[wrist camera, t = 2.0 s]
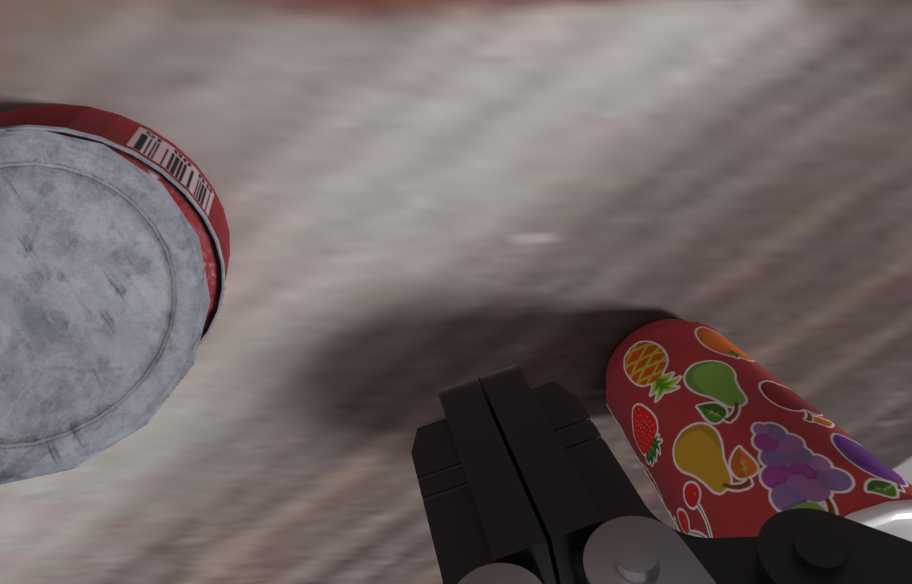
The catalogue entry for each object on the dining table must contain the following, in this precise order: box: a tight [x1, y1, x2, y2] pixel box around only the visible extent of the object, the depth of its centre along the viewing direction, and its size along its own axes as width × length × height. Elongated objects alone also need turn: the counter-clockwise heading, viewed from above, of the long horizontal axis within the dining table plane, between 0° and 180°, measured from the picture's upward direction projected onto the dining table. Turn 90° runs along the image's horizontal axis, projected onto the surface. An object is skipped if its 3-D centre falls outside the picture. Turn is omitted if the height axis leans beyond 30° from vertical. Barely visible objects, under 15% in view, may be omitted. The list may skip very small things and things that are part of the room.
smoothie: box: [605, 319, 912, 542], centre depth 25 cm, size 8×8×20 cm
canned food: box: [0, 104, 230, 484], centre depth 21 cm, size 11×10×10 cm
